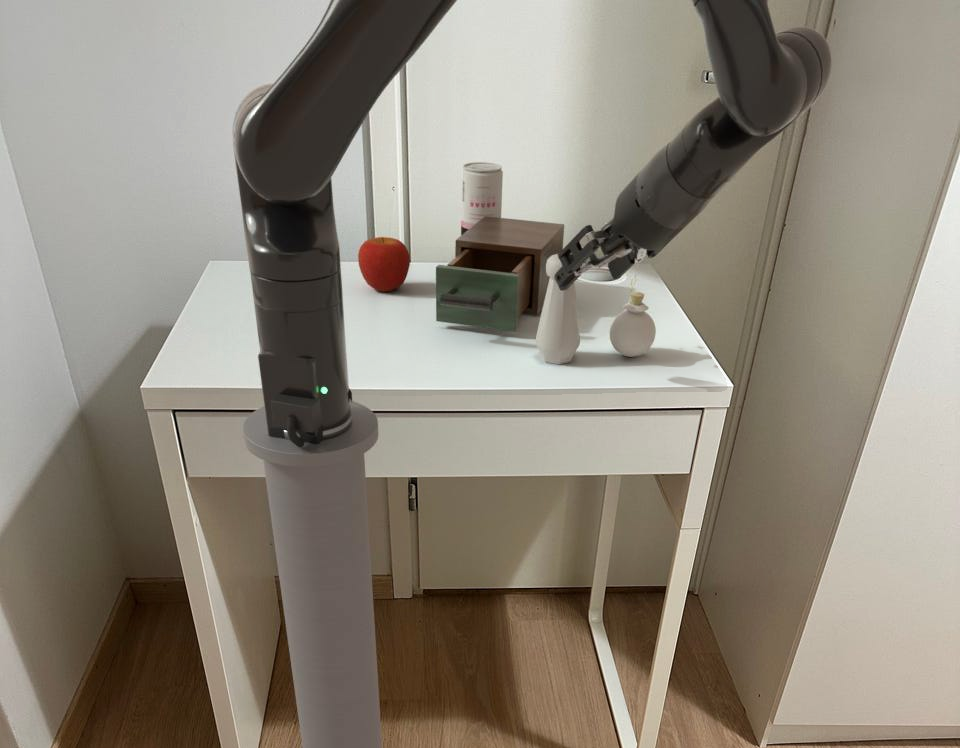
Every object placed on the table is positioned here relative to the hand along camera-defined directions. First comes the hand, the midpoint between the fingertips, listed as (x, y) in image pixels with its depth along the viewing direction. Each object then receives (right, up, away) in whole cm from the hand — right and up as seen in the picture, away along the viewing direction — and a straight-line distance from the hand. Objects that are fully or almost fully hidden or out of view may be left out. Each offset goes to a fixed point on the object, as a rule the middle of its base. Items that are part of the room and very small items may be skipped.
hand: (586, 277), depth 111 cm
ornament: (+7, -6, +12) cm, 15 cm away
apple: (-28, +10, +31) cm, 43 cm away
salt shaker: (-3, -7, +10) cm, 13 cm away
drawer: (-12, +2, +19) cm, 23 cm away
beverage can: (-13, +19, +43) cm, 49 cm away
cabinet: (-8, +9, +30) cm, 33 cm away
